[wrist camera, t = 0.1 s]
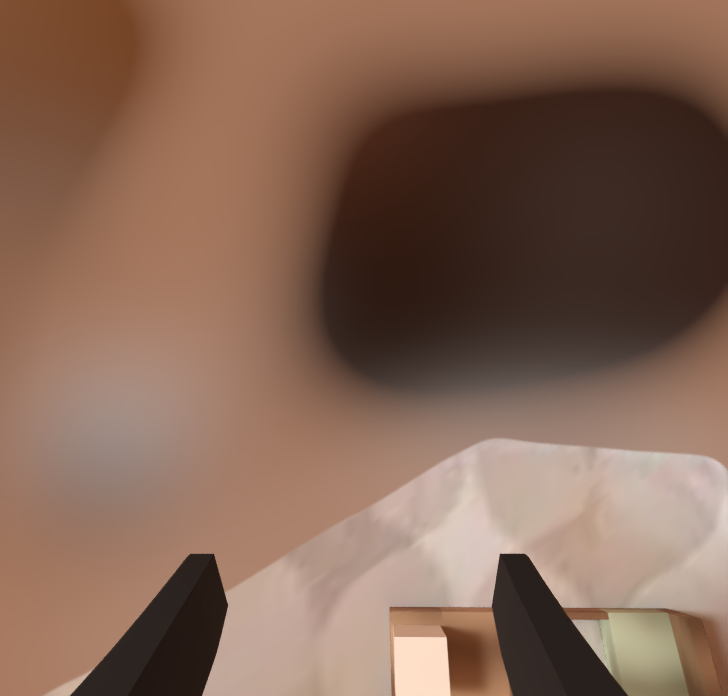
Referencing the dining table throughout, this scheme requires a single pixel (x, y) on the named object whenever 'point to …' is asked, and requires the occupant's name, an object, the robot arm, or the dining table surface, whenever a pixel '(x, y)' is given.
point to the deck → (620, 638)
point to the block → (420, 661)
